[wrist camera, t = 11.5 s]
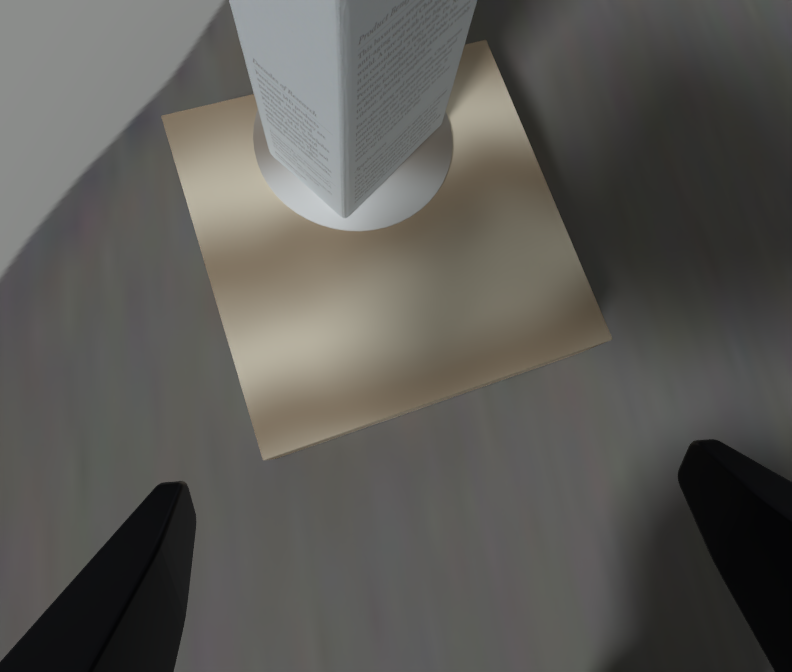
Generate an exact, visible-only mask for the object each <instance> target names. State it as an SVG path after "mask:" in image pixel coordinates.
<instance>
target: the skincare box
mask: <svg viewBox="0 0 792 672" xmlns="http://www.w3.org/2000/svg"><path fill="white" fill-rule="evenodd" d="M229 2H230V5H231V9H232V13H233V17H234V20H235V24H236V28H237V32H238V36H239V40H240V43H241V47H242V51H243V54H244V58H245V62H246V66H247V70H248V73H249V77H250V81H251V84H252V88H253V92H254V96H255V99H256V103H257V107H258V111H259V115H260V119H261V122H262V126H263V130H264V134H265V137H266V141H267V145H268V149H269V152H270V153H271V155H272V156H273V157H274V158H275V159H276V160H277V161H279V162H280V163H281V164H282V165H283V166H285V167H286V168H287V169H288V170H289V171H290V172H292V173H293V174H294V175H295V176H296V177H297V178H298V179H299V180H301V181H302V182H303V183H304V184H305V185H306V186H307V187H308V188H309V189H311V190H312V191H313V192H314V193H315V194H316V195H317V196H318V197H319V198H321V199H322V200H323V201H324V202H325V203H326V204H327V205H328V206H329V207H331V208H332V209H333V210H334V211H335V212H336V213H337V214H338V215H340V216H341V217H342V218H347V217H348V216H349V215H350V214H351V213H352V212H353V211H354V210H355V209H356V208H357V207H358V206H359V205H360V204H361V203H362V202H363V201H364V200H365V199H366V198H367V197H368V196H369V195H370V194H371V193H372V192H373V191H374V190H375V189H376V188H378V187H379V186H380V185H381V184H382V183H383V182H384V181H385V180H386V179H387V178H388V177H389V176H390V175H391V174H392V173H393V172H394V171H395V170H396V169H397V168H398V167H399V166H400V165H401V164H402V163H403V162H404V161H405V160H406V159H407V158H408V157H409V156H410V155H411V154H412V153H413V152H414V151H415V150H416V149H417V148H418V147H419V146H420V145H421V144H422V143H423V142H424V141H425V140H426V139H427V138H428V137H429V136H430V135H431V134H432V133H433V132H434V131H435V130H436V129H437V128H439V127H440V125H441V124H442V122H443V118H444V115H445V111H446V108H447V104H448V101H449V97H450V94H451V90H452V87H453V84H454V80H455V77H456V73H457V69H458V66H459V63H460V59H461V56H462V52H463V48H464V45H465V42H466V38H467V34H468V31H469V27H470V24H471V21H472V17H473V13H474V10H475V7H476V4H477V0H229Z"/></svg>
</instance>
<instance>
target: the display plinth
mask: <svg viewBox="0 0 792 672" xmlns="http://www.w3.org/2000/svg"><path fill="white" fill-rule="evenodd" d="M161 117H162V120H163V123H164V127H165V130H166V134H167V137H168V140H169V144H170V147H171V151H172V154H173V157H174V161H175V164H176V167H177V171H178V174H179V178H180V181H181V184H182V188H183V191H184V194H185V198H186V201H187V205H188V208H189V211H190V215H191V218H192V222H193V225H194V228H195V232H196V235H197V238H198V242H199V245H200V249H201V252H202V255H203V259H204V262H205V265H206V269H207V272H208V276H209V279H210V282H211V286H212V289H213V293H214V296H215V299H216V303H217V306H218V309H219V313H220V316H221V320H222V323H223V326H224V330H225V333H226V336H227V340H228V343H229V347H230V350H231V353H232V357H233V360H234V363H235V367H236V370H237V374H238V377H239V380H240V384H241V387H242V391H243V394H244V397H245V401H246V404H247V407H248V411H249V414H250V418H251V421H252V424H253V428H254V431H255V434H256V438H257V441H258V445H259V448H260V451H261V455H262V458H263V460H270V459H276V458H279V457H282V456H285V455H288V454H291V453H293V452H296V451H299V450H302V449H305V448H308V447H311V446H314V445H316V444H319V443H322V442H325V441H328V440H331V439H334V438H337V437H340V436H342V435H345V434H348V433H351V432H354V431H357V430H360V429H363V428H365V427H368V426H371V425H374V424H377V423H380V422H383V421H386V420H389V419H391V418H394V417H397V416H400V415H403V414H406V413H409V412H412V411H414V410H417V409H420V408H423V407H426V406H429V405H432V404H435V403H438V402H440V401H443V400H446V399H449V398H452V397H455V396H458V395H461V394H463V393H466V392H469V391H472V390H475V389H478V388H481V387H484V386H486V385H489V384H492V383H495V382H498V381H501V380H504V379H507V378H510V377H512V376H515V375H518V374H521V373H524V372H527V371H530V370H533V369H535V368H538V367H541V366H544V365H547V364H550V363H553V362H556V361H559V360H561V359H564V358H567V357H570V356H573V355H576V354H578V353H581V352H583V351H585V350H588V349H590V348H593V347H595V346H598V345H600V344H602V343H605V342H607V341H610V340H612V337H611V334H610V332H609V330H608V327H607V325H606V323H605V320H604V318H603V315H602V313H601V311H600V308H599V306H598V304H597V301H596V299H595V297H594V294H593V292H592V289H591V287H590V285H589V282H588V280H587V278H586V275H585V273H584V270H583V268H582V266H581V263H580V261H579V259H578V256H577V254H576V252H575V249H574V247H573V244H572V242H571V240H570V237H569V235H568V233H567V230H566V228H565V225H564V223H563V221H562V218H561V216H560V214H559V211H558V209H557V207H556V204H555V202H554V199H553V197H552V195H551V192H550V190H549V188H548V185H547V183H546V181H545V178H544V176H543V173H542V171H541V169H540V166H539V164H538V162H537V159H536V157H535V154H534V152H533V150H532V147H531V145H530V143H529V140H528V138H527V136H526V133H525V131H524V128H523V126H522V124H521V121H520V119H519V117H518V114H517V112H516V109H515V107H514V105H513V102H512V100H511V98H510V95H509V93H508V91H507V88H506V86H505V83H504V81H503V79H502V76H501V74H500V72H499V69H498V67H497V65H496V62H495V60H494V57H493V55H492V53H491V50H490V48H489V46H488V43H487V41H486V40H482V41H478V42H474V43H470V44H465V45H464V48H463V52H462V56H461V59H460V63H459V66H458V69H457V73H456V77H455V80H454V84H453V87H452V90H451V94H450V97H449V101H448V104H447V108H446V111H445V115H444V118H443V122H442V124H441V125H440V127H439V128H437V129H436V130H435V131H434V132H433V133H432V134H431V135H430V136H429V137H428V138H427V139H426V140H425V141H424V142H423V143H422V144H421V145H420V146H419V147H418V148H417V149H416V150H415V151H414V152H413V153H412V154H411V155H410V156H409V157H408V158H407V159H406V160H405V161H404V162H403V163H402V164H401V165H400V166H399V167H398V168H397V169H396V170H395V171H394V172H393V173H392V174H391V175H390V176H389V177H388V178H387V179H386V180H385V181H384V182H383V183H382V184H381V185H380V186H379V187H378V188H376V189H375V190H374V191H373V192H372V193H371V194H370V195H369V196H368V197H367V198H366V199H365V200H364V201H363V202H362V203H361V204H360V205H359V206H358V207H357V208H356V209H355V210H354V211H353V212H352V213H351V214H350V215H349V216H348V217H347V218H342V217H341V216H340V215H338V214H337V213H336V212H335V211H334V210H333V209H332V208H331V207H329V206H328V205H327V204H326V203H325V202H324V201H323V200H322V199H321V198H319V197H318V196H317V195H316V194H315V193H314V192H313V191H312V190H311V189H309V188H308V187H307V186H306V185H305V184H304V183H303V182H302V181H301V180H299V179H298V178H297V177H296V176H295V175H294V174H293V173H292V172H290V171H289V170H288V169H287V168H286V167H285V166H283V165H282V164H281V163H280V162H279V161H277V160H276V159H275V158H274V157H273V156H272V155H271V153H270V152H269V149H268V145H267V141H266V137H265V134H264V130H263V126H262V122H261V119H260V115H259V111H258V107H257V103H256V99H255V96H254V94H252V95H248V96H244V97H240V98H235V99H231V100H227V101H223V102H218V103H214V104H210V105H206V106H201V107H197V108H193V109H188V110H184V111H180V112H176V113H171V114H167V115H163V116H161Z"/></svg>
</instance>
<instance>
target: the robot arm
mask: <svg viewBox="0 0 792 672" xmlns="http://www.w3.org/2000/svg"><path fill="white" fill-rule="evenodd" d="M678 481H679V484H680V487H681V489H682V492H683V494H684V496H685V498H686V501H687V503H688V505H689V508H690V510H691V512H692V514H693V517H694V519H695V521H696V523H697V526H698V528H699V530H700V533H701V535H702V537H703V539H704V542H705V544H706V546H707V549H708V551H709V553H710V555H711V557H712V559H713V561H714V563H715V565H716V567H717V569H718V571H719V573H720V574H721V576H722V578H723V580H724V582H725V583H726V585H727V587H728V589H729V591H730V592H731V594H732V596H733V598H734V599H735V601H736V603H737V605H738V607H739V608H740V610H741V612H742V614H743V616H744V617H745V619H746V621H747V623H748V624H749V626H750V628H751V630H752V632H753V633H754V635H755V637H756V639H757V641H758V642H759V644H760V646H761V648H762V650H763V651H764V653H765V655H766V657H767V658H768V660H769V662H770V664H771V666H772V667H773V669H774V671H775V672H792V482H790V481H788V480H787V479H785V478H783V477H781V476H780V475H778V474H776V473H774V472H773V471H771V470H769V469H767V468H766V467H764V466H762V465H760V464H759V463H757V462H755V461H753V460H752V459H750V458H748V457H746V456H745V455H743V454H741V453H739V452H738V451H736V450H734V449H732V448H731V447H729V446H727V445H725V444H724V443H722V442H720V441H718V440H714V439H709V440H696V441H693V442H692V443H691V444H690V446H689V447H688V450H687V452H686V454H685V457H684V459H683V461H682V464H681V466H680V468H679V471H678ZM195 531H196V514H195V510H194V506H193V503H192V499H191V495H190V492H189V488H188V486H187V484H186V483H185V482H183V481H177V482H164V483H160V484H159V485H157V486H156V487H155V488H154V489H153V491H152V492H151V493H150V494H149V495H148V496H147V497H146V498H145V500H144V501H143V502H142V503H141V504H140V505H139V506H138V507H137V509H136V510H135V511H134V512H133V513H132V514H131V515H130V516H129V518H128V519H127V520H126V521H125V522H124V523H123V524H122V525H121V527H120V528H119V529H118V530H117V531H116V532H115V533H114V534H113V536H112V537H111V538H110V539H109V540H108V541H107V542H106V543H105V545H104V546H103V547H102V548H101V549H100V550H99V551H98V552H97V554H96V555H95V556H94V557H93V558H92V559H91V560H90V561H89V563H88V564H87V565H86V566H85V567H84V568H83V569H82V570H81V572H80V573H79V574H78V575H77V576H76V577H75V578H74V579H73V581H72V582H71V583H70V584H69V585H68V586H67V587H66V588H65V590H64V591H63V592H62V593H61V594H60V595H59V596H58V597H57V599H56V600H55V601H54V602H53V603H52V604H51V605H50V606H49V608H48V609H47V610H46V611H45V612H44V613H43V614H42V615H41V617H40V618H39V619H38V620H37V621H36V622H35V623H34V624H33V626H32V627H31V628H30V629H29V630H28V631H27V632H26V633H25V635H24V636H23V637H22V638H21V639H20V640H19V641H18V642H17V644H16V645H15V646H14V647H13V648H12V649H11V650H10V651H9V653H8V654H7V655H6V656H5V657H4V658H3V659H2V660H1V662H0V672H174V667H175V663H176V659H177V654H178V650H179V645H180V641H181V637H182V632H183V627H184V622H185V617H186V610H187V602H188V593H189V584H190V575H191V567H192V558H193V549H194V540H195Z"/></svg>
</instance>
